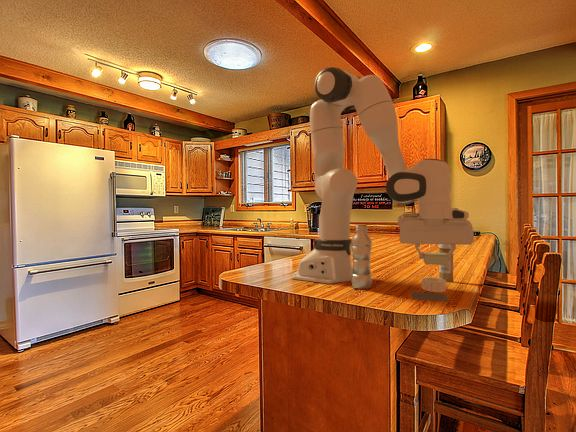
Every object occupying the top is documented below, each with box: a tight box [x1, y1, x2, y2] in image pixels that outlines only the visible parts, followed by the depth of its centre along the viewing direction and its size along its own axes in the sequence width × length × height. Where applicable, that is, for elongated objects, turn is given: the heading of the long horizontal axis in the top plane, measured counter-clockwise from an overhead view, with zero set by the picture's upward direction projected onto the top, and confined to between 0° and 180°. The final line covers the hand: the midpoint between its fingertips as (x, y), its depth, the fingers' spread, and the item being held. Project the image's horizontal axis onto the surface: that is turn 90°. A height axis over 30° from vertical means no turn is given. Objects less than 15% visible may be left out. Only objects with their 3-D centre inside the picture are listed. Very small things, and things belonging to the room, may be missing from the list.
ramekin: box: [421, 276, 447, 293], centre depth 95 cm, size 6×6×4 cm
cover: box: [423, 251, 448, 266], centre depth 94 cm, size 6×8×2 cm
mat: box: [410, 291, 450, 303], centre depth 87 cm, size 9×8×1 cm
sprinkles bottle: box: [438, 244, 454, 284], centre depth 106 cm, size 5×5×13 cm
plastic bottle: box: [350, 224, 373, 290], centre depth 98 cm, size 6×7×20 cm
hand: (434, 258), depth 94 cm, fingers closed on cover, 6 cm apart
